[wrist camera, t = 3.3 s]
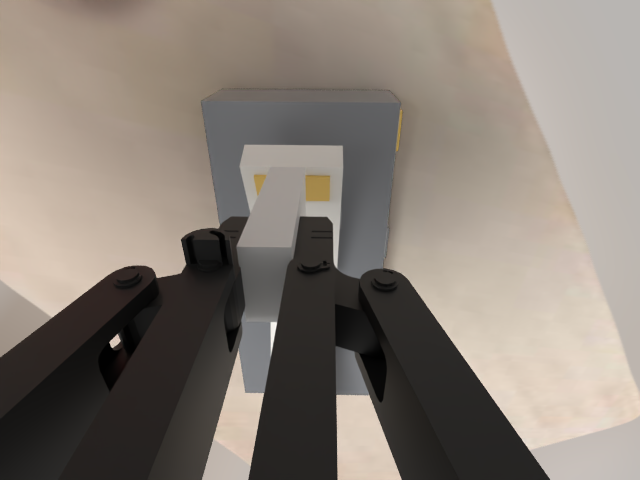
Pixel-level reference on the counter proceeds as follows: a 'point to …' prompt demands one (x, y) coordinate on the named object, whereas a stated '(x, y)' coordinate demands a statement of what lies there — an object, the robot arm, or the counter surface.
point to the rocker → (319, 177)
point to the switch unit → (357, 185)
